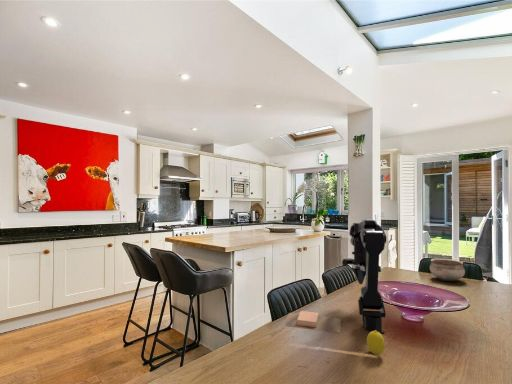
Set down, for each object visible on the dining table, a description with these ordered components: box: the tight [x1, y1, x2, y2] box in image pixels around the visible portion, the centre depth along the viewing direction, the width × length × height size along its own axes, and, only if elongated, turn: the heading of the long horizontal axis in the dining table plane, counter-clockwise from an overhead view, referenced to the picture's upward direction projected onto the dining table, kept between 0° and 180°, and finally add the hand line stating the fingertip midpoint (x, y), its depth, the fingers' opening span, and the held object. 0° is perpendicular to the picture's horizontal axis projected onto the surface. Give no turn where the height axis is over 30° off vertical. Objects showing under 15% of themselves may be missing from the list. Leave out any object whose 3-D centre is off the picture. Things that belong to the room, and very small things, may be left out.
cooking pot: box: [429, 258, 466, 283], centre depth 187 cm, size 25×19×12 cm
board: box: [282, 312, 342, 334], centre depth 120 cm, size 22×14×1 cm, turn 73°
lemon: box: [366, 330, 386, 357], centre depth 95 cm, size 6×6×8 cm
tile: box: [297, 310, 319, 327], centre depth 120 cm, size 2×10×8 cm
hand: (360, 284), depth 135 cm, fingers closed
